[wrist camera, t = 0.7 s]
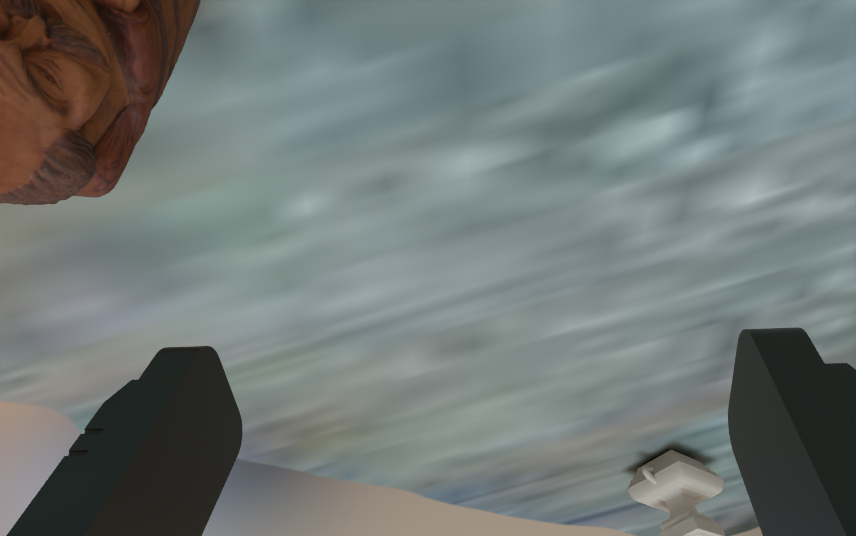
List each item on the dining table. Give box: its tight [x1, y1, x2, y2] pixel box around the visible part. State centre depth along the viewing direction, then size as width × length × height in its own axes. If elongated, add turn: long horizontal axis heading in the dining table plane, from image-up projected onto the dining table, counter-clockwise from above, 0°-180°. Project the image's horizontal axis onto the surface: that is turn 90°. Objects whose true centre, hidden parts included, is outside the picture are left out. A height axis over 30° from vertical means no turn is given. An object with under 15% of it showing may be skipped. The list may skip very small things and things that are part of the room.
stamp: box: [627, 450, 725, 536], centre depth 66 cm, size 9×7×8 cm
